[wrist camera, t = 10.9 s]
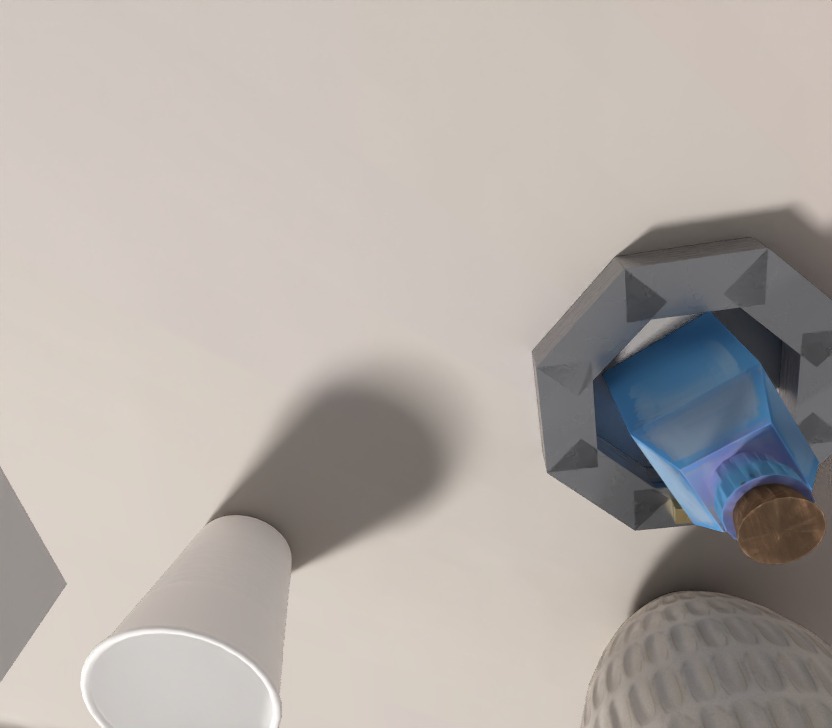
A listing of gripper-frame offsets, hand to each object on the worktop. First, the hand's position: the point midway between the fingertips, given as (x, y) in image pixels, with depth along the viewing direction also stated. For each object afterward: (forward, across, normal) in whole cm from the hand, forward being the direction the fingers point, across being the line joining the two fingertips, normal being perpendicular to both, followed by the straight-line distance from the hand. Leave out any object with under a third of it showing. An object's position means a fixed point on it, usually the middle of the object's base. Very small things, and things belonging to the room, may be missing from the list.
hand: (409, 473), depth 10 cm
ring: (+23, +11, -13) cm, 29 cm away
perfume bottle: (+23, +11, -13) cm, 29 cm away
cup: (+24, -16, -21) cm, 35 cm away
